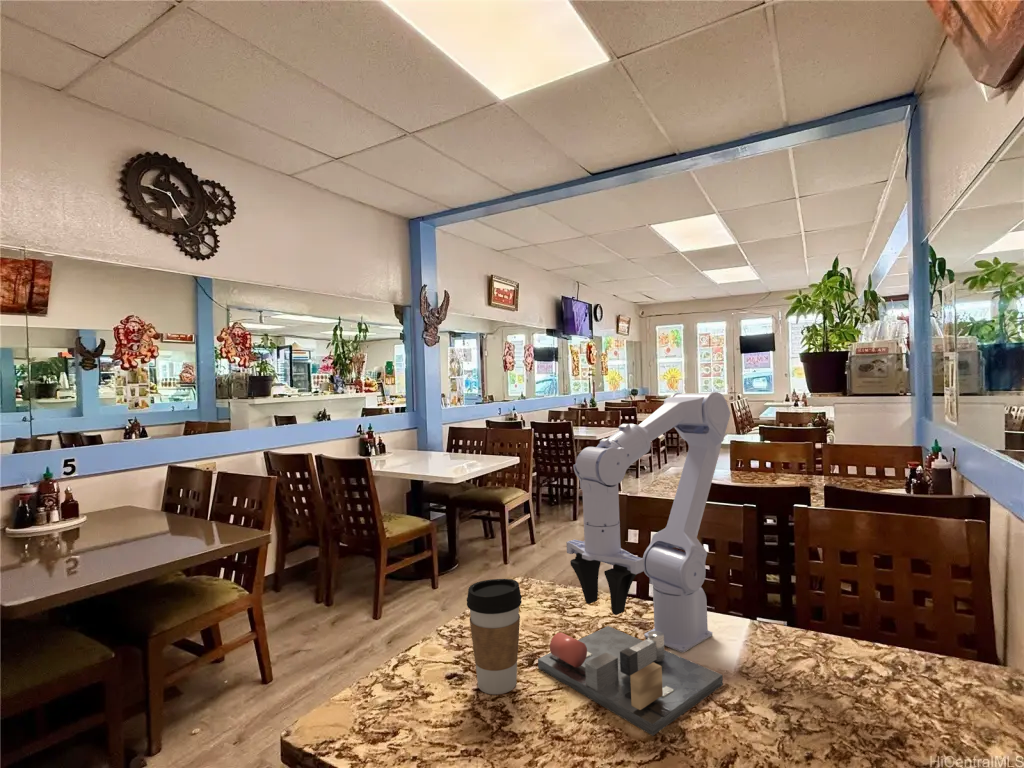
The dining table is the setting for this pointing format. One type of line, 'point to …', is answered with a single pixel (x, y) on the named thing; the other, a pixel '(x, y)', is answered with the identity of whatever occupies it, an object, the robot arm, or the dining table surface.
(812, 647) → the dining table surface
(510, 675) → the coffee cup
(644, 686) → the paddle
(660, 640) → the lever
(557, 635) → the red short cylinder
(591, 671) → the panel
